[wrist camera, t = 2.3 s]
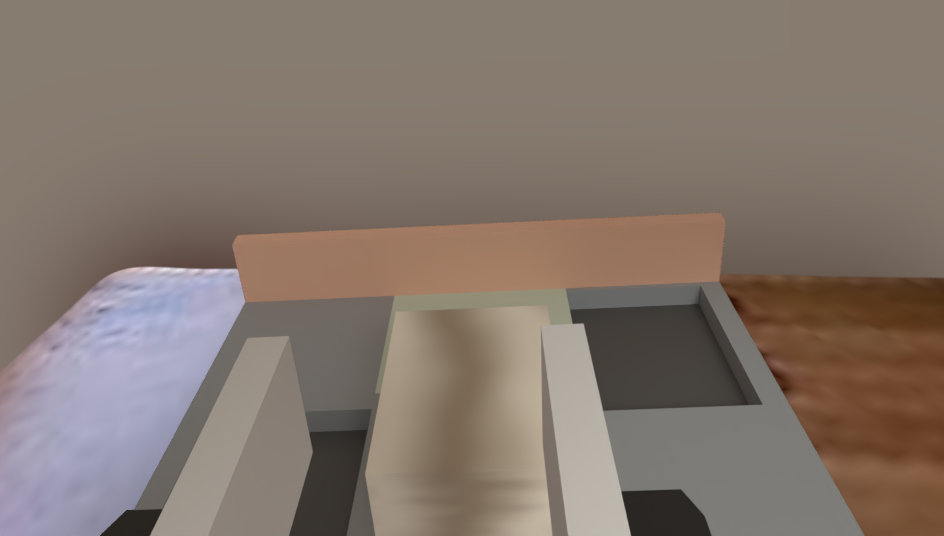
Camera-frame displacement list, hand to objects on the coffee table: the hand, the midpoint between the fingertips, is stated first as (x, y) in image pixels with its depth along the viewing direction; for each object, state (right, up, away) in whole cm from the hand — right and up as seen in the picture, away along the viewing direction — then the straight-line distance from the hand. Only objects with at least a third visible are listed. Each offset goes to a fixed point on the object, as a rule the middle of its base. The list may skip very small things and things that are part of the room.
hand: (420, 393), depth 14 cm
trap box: (+2, -8, +32) cm, 33 cm away
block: (+1, -10, +24) cm, 26 cm away
